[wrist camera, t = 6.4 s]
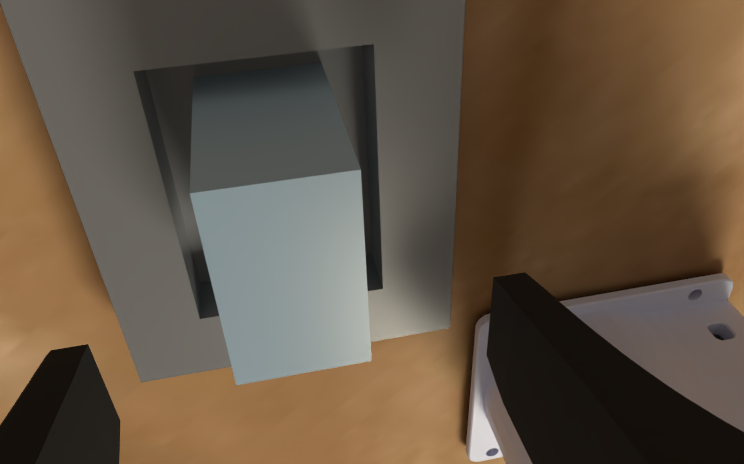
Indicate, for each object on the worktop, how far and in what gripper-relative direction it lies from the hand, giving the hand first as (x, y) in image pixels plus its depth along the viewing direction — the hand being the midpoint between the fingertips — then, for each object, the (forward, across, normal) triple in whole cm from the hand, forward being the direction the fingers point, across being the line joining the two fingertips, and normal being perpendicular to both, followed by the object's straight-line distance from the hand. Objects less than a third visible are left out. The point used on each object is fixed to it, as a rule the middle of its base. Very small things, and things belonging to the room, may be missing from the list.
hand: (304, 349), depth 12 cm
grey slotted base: (+7, 0, 0) cm, 7 cm away
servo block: (+6, 0, 0) cm, 7 cm away
